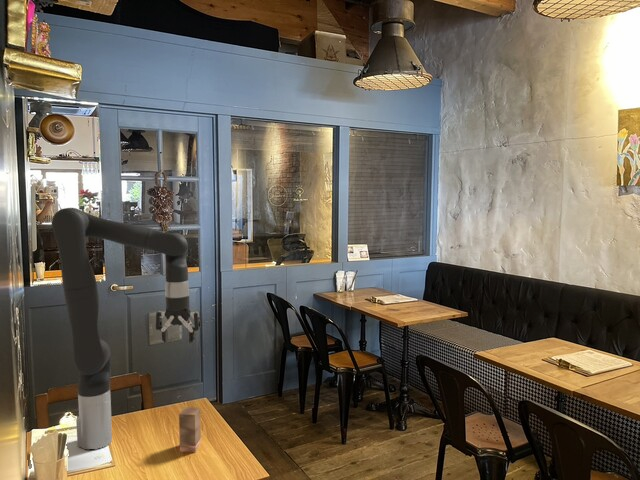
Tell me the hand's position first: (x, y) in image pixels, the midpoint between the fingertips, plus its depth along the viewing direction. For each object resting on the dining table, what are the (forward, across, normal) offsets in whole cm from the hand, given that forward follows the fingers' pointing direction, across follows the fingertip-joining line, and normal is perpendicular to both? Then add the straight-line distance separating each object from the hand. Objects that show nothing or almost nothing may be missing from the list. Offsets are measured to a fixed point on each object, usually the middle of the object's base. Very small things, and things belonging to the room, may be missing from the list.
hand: (178, 342), depth 161 cm
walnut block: (+18, +7, -12) cm, 23 cm away
